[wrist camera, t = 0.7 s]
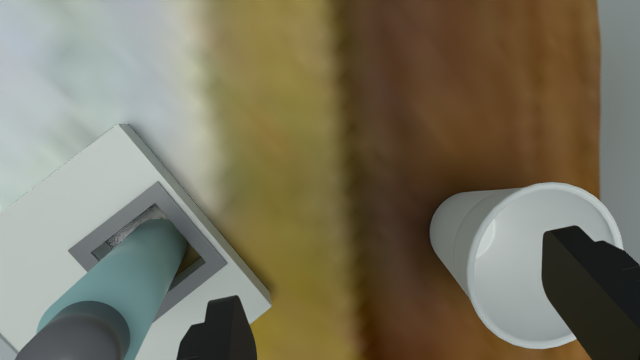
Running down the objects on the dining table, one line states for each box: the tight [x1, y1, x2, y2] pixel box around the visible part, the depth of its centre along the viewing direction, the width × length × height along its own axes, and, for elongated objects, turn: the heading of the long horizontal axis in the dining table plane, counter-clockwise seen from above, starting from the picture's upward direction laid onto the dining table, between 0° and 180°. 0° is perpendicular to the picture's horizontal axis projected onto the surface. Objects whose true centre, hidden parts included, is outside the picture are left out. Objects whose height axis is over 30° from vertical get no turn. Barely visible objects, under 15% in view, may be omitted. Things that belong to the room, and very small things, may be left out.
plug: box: [15, 219, 186, 360], centre depth 26 cm, size 4×4×19 cm
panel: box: [0, 124, 272, 360], centre depth 33 cm, size 16×22×4 cm
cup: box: [430, 182, 624, 349], centre depth 34 cm, size 10×10×11 cm
